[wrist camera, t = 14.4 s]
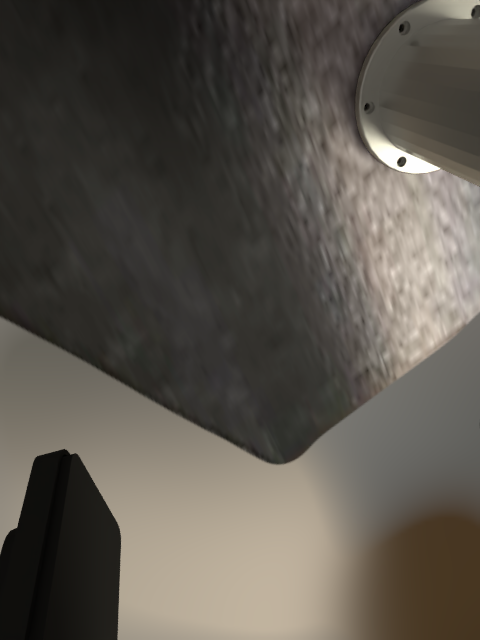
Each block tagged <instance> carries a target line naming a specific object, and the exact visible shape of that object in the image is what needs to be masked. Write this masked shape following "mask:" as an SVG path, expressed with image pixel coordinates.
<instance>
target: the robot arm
mask: <svg viewBox="0 0 480 640" xmlns="http://www.w3.org/2000/svg"><path fill="white" fill-rule="evenodd" d="M471 11H472V13H471ZM400 25H401V27H402V28H401V31H400V32H399V26H400ZM366 103H367V108H366V109H365V110H364V106H365V104H366ZM355 115H356V121H357V127H358V130H359V133H360V136H361V138H362V141H363V143H364V144H365V146H366V147H367V149H368V150H369V152H370V153H371V154H372V155H373V156H374V157H375V158H376V159H377V160H378V161H379V162H381V163H383V164H384V165H386V166H387V167H389V168H391V169H393V170H395V171H398V172H402V173H408V174H425V173H429V172H434V171H438V170H440V169H442V170H445V171H447V172H449V173H451V174H453V175H455V176H458V177H460V178H462V179H464V180H466V181H468V182H470V183H473V184H475V185H477V186H479V187H480V0H421V1H419V2H417V3H414V4H412V5H411V6H409V7H408V8H407V9H405V10H404V11H402V12H401V13H400V14H398V15H397V16H396V17H395V18H394V19H393V20H392V21H391V22H390V23H389V24H388V25H387V26H386V27H385V28H384V29H383V31H382V32H381V33H380V35H379V36H378V38H377V39H376V40H375V42H374V43H373V45H372V47H371V49H370V51H369V53H368V55H367V56H366V58H365V60H364V63H363V66H362V69H361V72H360V75H359V78H358V83H357V89H356V95H355ZM398 159H399V160H398ZM397 160H398V162H397ZM120 553H121V535H120V529H119V526H118V524H117V522H116V520H115V518H114V516H113V515H112V513H111V511H110V510H109V508H108V506H107V504H106V502H105V501H104V499H103V497H102V496H101V494H100V492H99V490H98V489H97V487H96V485H95V483H94V482H93V480H92V478H91V477H90V475H89V473H88V471H87V470H86V468H85V466H84V464H83V463H82V461H81V459H80V457H79V456H78V454H76V453H75V454H71V455H70V453H69V452H68V451H67V450H65V449H63V450H59V451H55V452H52V453H48V454H44V455H40V456H37V457H36V458H35V460H34V462H33V466H32V470H31V474H30V478H29V482H28V486H27V490H26V495H25V499H24V503H23V507H22V511H21V515H20V518H19V523H18V527H17V528H16V529H13V530H11V531H10V532H9V534H8V535H7V536H6V538H5V541H4V544H3V547H2V550H1V554H0V640H117V633H118V632H117V631H118V605H119V579H120Z"/></svg>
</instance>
